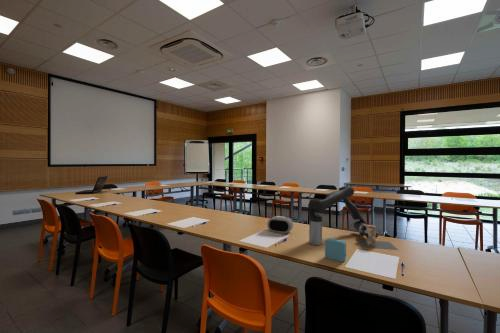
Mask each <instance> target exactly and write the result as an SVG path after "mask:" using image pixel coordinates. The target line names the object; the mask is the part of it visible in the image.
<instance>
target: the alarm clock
mask: <svg viewBox="0 0 500 333" xmlns="http://www.w3.org/2000/svg"><path fill="white" fill-rule="evenodd" d="M266 224H267V229H268V231H269V232H272V233H275V234H280V235H282V234H284V235H286V234H288V233H290V232H291V231H292V229H293V227H294V221H293V219H291V218H290V217H286V216H281V215H275V216H272V217H271V218H269V219H268V220H267V223H266Z"/></svg>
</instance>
